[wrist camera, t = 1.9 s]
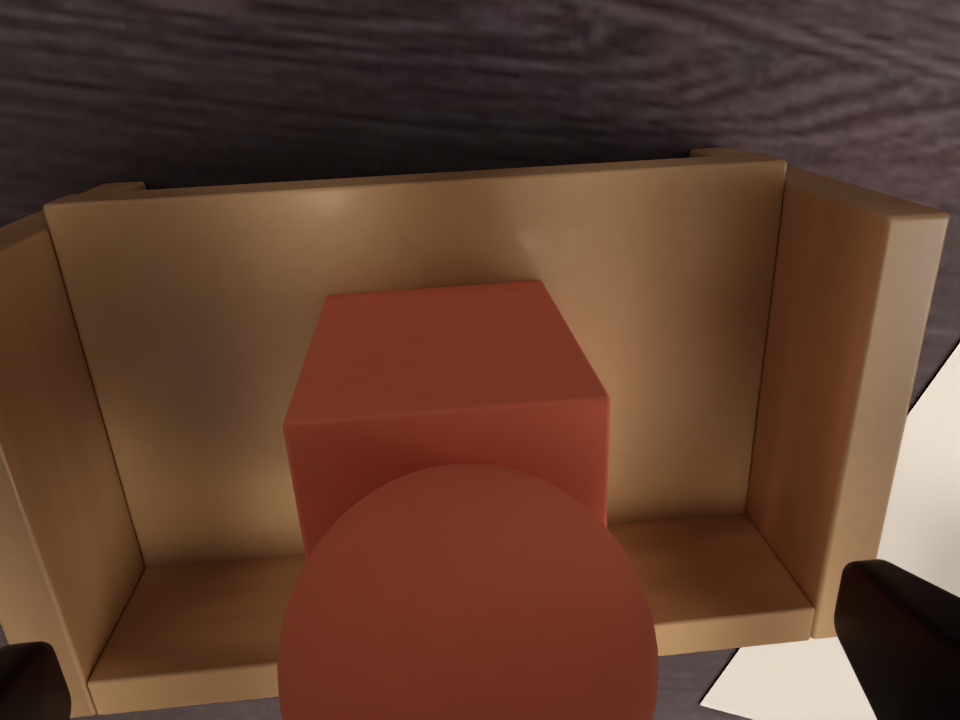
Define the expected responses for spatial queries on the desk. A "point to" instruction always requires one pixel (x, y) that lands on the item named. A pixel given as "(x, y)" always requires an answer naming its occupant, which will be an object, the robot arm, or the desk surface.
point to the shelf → (429, 264)
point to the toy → (457, 519)
